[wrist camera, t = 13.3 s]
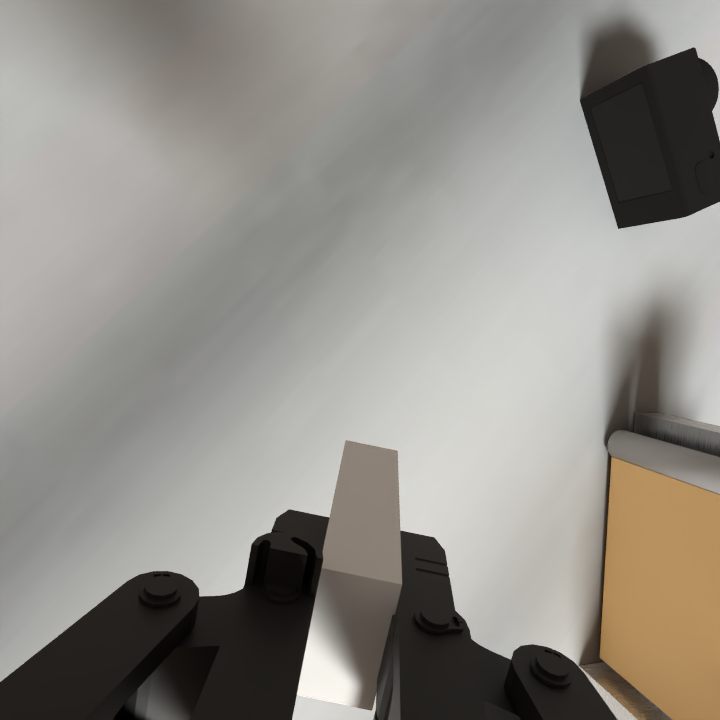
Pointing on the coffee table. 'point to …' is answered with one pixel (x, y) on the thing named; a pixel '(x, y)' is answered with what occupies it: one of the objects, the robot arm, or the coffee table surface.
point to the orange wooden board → (664, 574)
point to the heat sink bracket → (621, 697)
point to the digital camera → (658, 140)
